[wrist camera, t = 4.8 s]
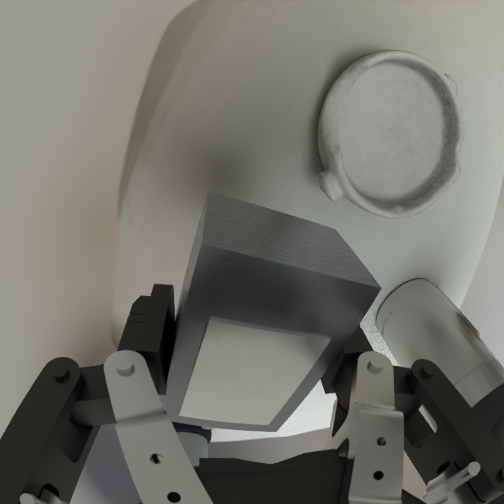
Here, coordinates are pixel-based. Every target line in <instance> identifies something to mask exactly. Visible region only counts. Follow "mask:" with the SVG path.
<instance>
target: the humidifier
mask: <svg viewBox="0 0 504 504" xmlns="http://www.w3.org/2000/svg"><path fill="white" fill-rule="evenodd" d="M171 422H172V421H171ZM172 425H173V427H174V429H175V431H176V433H177V436H178V438H179V440H180V442H181V444H182V446H183V448H184V450H185V452H186V454H187V456H188V458H189V460H190V462H191V464H192V466H197V465H199V458H208V447H207V446H208V445H207V444H208V443H209V442H210V441H211V435H212V434H211V429H203V428H202V426H197V425H190V424H184V423H177V422H172Z"/></svg>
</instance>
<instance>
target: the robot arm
mask: <svg viewBox="0 0 504 504" xmlns="http://www.w3.org/2000/svg"><path fill="white" fill-rule="evenodd" d="M174 324H175V308H174V287H173V285H166V284H154V286H153V290H152V293H151V296H140V297H139V298H138V299H137V300H136V301H135V302H134V303H133V305H132V308H131V311H130V315H129V316H128V319H127V322H126V325H125V328H124V331H123V334H122V337H121V341H120V344H119V347H118V350H117V352H115V353H113V354H111V355H110V356H109V357H108V358H107V360H106V361H105V363H104V364H102V365H98V366H91V367H83V368H79V365H78V364H77V363H76V362H75V361H74V360H72V359H70V358H67V357H59V358H55V359H53V360H51V361H50V362H48V363H47V364H46V366H45V367H44V368H43V370H42V372H41V373H40V375H39V376H38V377H37V379H36V380H35V382H34V384H33V385H32V387H31V388H30V390H29V392H28V393H27V395H26V396H25V398H24V399H23V401H22V403H21V404H20V406H19V408H18V409H17V411H16V413H15V414H14V416H13V418H12V420H11V421H10V423H9V425H8V427H7V428H6V430H5V432H4V434H3V436H2V437H1V439H0V504H70V501H71V498H72V495H73V493H74V490H75V487H76V485H77V482H78V479H79V477H80V474H81V472H82V469H83V467H84V464H85V462H86V459H87V457H88V454H89V452H90V450H91V447H92V445H93V443H94V440H95V438H96V436H97V433H98V431H99V429H100V426H101V425H104V424H112V423H115V426H116V430H117V434H118V437H119V440H120V444H121V447H122V450H123V453H124V456H125V459H126V462H127V465H128V467H129V470H130V473H131V476H132V478H133V481H134V483H135V485H136V488H137V491H138V493H139V496H140V498H141V500H142V501H141V502H140V503H139V504H427V503H430V504H504V368H503V367H502V365H501V364H500V363H499V361H498V360H497V359H496V358H495V356H494V355H493V354H492V352H491V351H490V350H489V349H488V347H487V346H486V345H485V344H484V343H483V341H482V340H481V339H480V337H479V332H478V331H477V330H476V328H475V327H474V326H473V325H472V324H471V323H470V322H469V320H468V319H467V318H466V317H465V316H464V315H463V314H462V312H461V311H460V310H459V309H458V308H457V307H456V306H455V305H454V304H453V303H452V301H451V300H450V299H449V298H448V297H447V296H446V295H445V294H444V293H443V292H442V291H441V290H440V289H439V288H436V287H435V286H434V285H433V284H432V283H431V282H429V281H428V280H425V279H416V280H412V281H409V282H407V283H405V284H403V285H402V286H400V287H399V288H397V289H396V290H395V291H394V292H393V293H392V294H391V295H390V296H389V297H388V298H387V299H386V300H385V302H384V303H383V304H382V306H381V308H380V310H379V312H378V315H377V319H376V326H377V329H378V331H379V332H380V334H381V336H382V337H383V339H384V341H385V342H386V344H387V346H388V347H389V349H390V351H391V353H392V354H393V356H394V358H395V359H396V361H397V363H398V364H399V366H400V367H399V366H393V365H392V363H391V361H390V360H389V359H388V358H387V357H386V356H385V355H383V354H381V353H379V352H374V351H373V349H372V347H371V345H370V343H369V341H368V339H367V337H366V336H365V334H364V332H363V330H362V328H360V325H358V327H357V328H356V330H355V331H354V333H353V334H352V336H351V337H350V339H349V340H348V341H347V343H346V344H345V346H344V347H342V349H341V351H340V353H339V354H338V356H337V357H336V358H335V360H334V361H333V362H332V364H331V365H330V367H329V368H328V369H327V371H326V372H325V373H324V375H323V376H322V377H321V378H320V379H321V382H322V385H323V388H324V391H325V394H329V393H336V396H337V399H336V400H335V402H334V406H333V412H332V418H331V423H330V429H329V434H328V439H327V443H326V446H325V448H324V450H322V451H316V452H309V453H303V454H301V455H298V456H295V457H292V458H290V459H287V460H284V461H281V462H278V463H274V464H265V463H258V462H252V461H246V460H240V459H235V458H199V465H197V466H192V464H191V462H190V460H189V458H188V456H187V454H186V452H185V450H184V448H183V446H182V444H181V442H180V440H179V438H178V436H177V433H176V431H175V429H174V427H173V425H172V422H171V420H170V418H169V416H168V414H167V412H166V411H165V410H164V408H163V406H162V404H161V401H160V399H159V396H158V394H159V395H166V390H167V388H166V382H167V374H168V366H169V359H170V351H171V344H172V337H173V331H174ZM421 405H422V407H423V409H424V411H425V413H426V414H427V416H428V418H429V420H430V422H431V424H432V425H433V427H434V429H435V431H436V433H435V432H434V431H433V430H432V428H431V427H430V425H429V424H428V423H427V421H426V420H425V419H424V417H423V416H422V414H421V413H420V411H419V410H418V409H419V408H420V406H421ZM404 450H405V452H406V453H407V455H408V457H409V458H410V460H411V461H412V463H413V465H414V466H415V468H416V469H417V471H418V473H419V474H420V476H421V477H422V479H423V481H424V482H425V484H426V485H427V490H426V492H425V493H424V495H423V500H424V502H423V501H422V500H420V499H418V498H416V497H415V496H413V495H411V494H410V493H408V492H407V491H405V490H404V489H402V480H403V461H404Z"/></svg>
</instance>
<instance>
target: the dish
mask: <svg viewBox="0 0 504 504" xmlns="http://www.w3.org/2000/svg"><path fill="white" fill-rule="evenodd" d="M456 94H457V86H456V83H455V82H454V80H453V79H452V78H451V77H450V76H449V75H447V74H444V73H443V72H442V71H441V70H440V69H439V68H438V67H437V66H436V65H434V64H433V63H431V62H430V61H428V60H427V59H425V58H423V57H421V56H418V55H416V54H413V53H409V52H405V51H398V50H385V51H379V52H375V53H372V54H369V55H366V56H364V57H362V58H360V59H359V60H357V61H355V62H354V63H352V64H351V65H350V66H348V67H347V68H346V69H345V70H344V71H343V72H342V73H341V74H340V76H339V77H338V78H337V79H336V81H335V82H334V84H333V85H332V87H331V88H330V90H329V92H328V94H327V96H326V98H325V101H324V104H323V106H322V110H321V113H320V117H319V123H318V135H317V140H318V150H319V154H320V158H321V161H322V164H323V166H324V168H325V169H324V170H323V171H320V172H319V175H318V178H319V184H320V187H321V189H322V191H323V192H324V193H325V194H326V195H327V196H328V198H329V199H330V200H332V201H333V202H336V201H337V200H338V199H339V198H340V197H341V196H345V197H346V198H347V199H348V200H350V201H351V202H352V203H354V204H355V205H357V206H358V207H360V208H361V209H363V210H365V211H367V212H369V213H372V214H375V215H378V216H381V217H386V218H398V217H407V216H411V215H414V214H417V213H419V212H420V211H422V210H424V209H425V208H427V207H428V206H429V205H431V204H432V203H433V202H434V201H435V200H437V199H438V198H439V197H440V196H441V195H442V194H443V193H444V192H445V191H446V190H447V189H448V188H449V186H450V185H451V184H452V183H454V182H455V181H456V180H457V179H458V178H459V175H460V170H461V167H460V161H459V158H460V148H461V144H462V142H463V139H464V127H463V125H464V123H463V117H462V112H461V108H460V104H459V101H458V98H457V96H456Z"/></svg>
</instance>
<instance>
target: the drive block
mask: <svg viewBox="0 0 504 504" xmlns="http://www.w3.org/2000/svg"><path fill="white" fill-rule="evenodd" d="M381 289H382V288H381V287H380V285H379V284H378V283H377V281H376V280H375V279H374V277H373V276H372V275H371V274H370V272H369V271H368V270H367V268H366V267H365V266H364V265H363V263H362V262H361V261H360V259H359V258H358V257H357V256H356V254H355V253H354V252H353V251H352V249H351V248H350V247H349V246H348V245H347V243H346V242H345V241H344V240H343V238H342V237H341V236H340V235H339V234H338V232H337V231H336V230H335V229H332V228H329V227H326V226H323V225H320V224H317V223H314V222H311V221H307V220H304V219H301V218H298V217H295V216H291V215H288V214H285V213H281V212H278V211H275V210H271V209H268V208H265V207H261V206H258V205H254V204H251V203H247V202H244V201H240V200H237V199H233V198H230V197H226V196H223V195H219V194H215V193H212V192H208V194H207V198H206V201H205V205H204V208H203V211H202V215H201V218H200V222H199V226H198V229H197V233H196V236H195V240H194V244H193V247H192V251H191V255H190V259H189V263H188V266H187V270H186V274H185V278H184V282H183V286H182V290H181V295H180V299H179V303H178V307H177V311H176V316H175V324H174V331H173V337H172V344H171V351H170V359H169V366H168V374H167V382H166V388H167V390H166V395H162V399H161V404H162V406H163V408H164V410H165V411H166V412H167V414H168V416H169V418H170V420H171V421H172V422H177V423H184V424H190V425H197V426H205V427H213V428H222V429H233V430H246V431H266V432H276V431H277V430H278V429H279V428H280V427H281V426H282V425H283V424H284V422H285V421H286V420H287V419H288V418H289V417H290V415H291V414H292V413H293V412H294V411H295V410H296V408H297V407H298V406H299V405H300V404H301V402H302V401H303V400H304V399H305V397H306V396H307V395H308V394H309V393H310V391H311V390H312V389H313V387H314V386H315V385H316V384H317V382H318V381H319V380H320V378H321V377H322V376H323V375H324V373H325V372H326V371H327V369H328V368H329V367H330V365H331V364H332V362H333V361H334V360H335V358H336V357H337V356H338V354H339V353H340V351H341V349H342V347H344V346H345V344H346V343H347V341H348V340H349V339H350V337H351V336H352V334H353V333H354V331H355V330H356V328H357V327H358V325H359V324H360V322H361V321H362V319H363V318H364V316H365V314H366V313H367V311H368V310H369V308H370V307H371V305H372V303H373V302H374V300H375V298H376V297H377V295H378V294H379V292H380V290H381Z"/></svg>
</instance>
